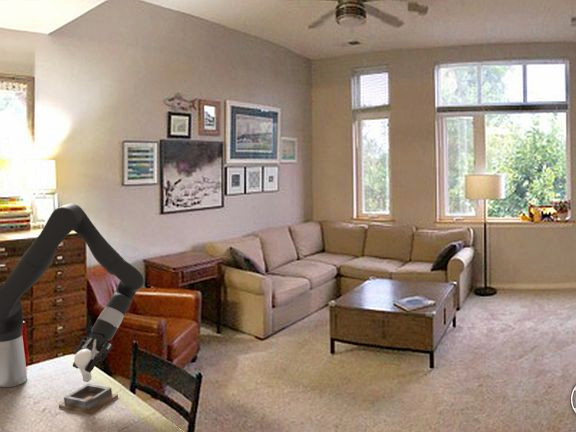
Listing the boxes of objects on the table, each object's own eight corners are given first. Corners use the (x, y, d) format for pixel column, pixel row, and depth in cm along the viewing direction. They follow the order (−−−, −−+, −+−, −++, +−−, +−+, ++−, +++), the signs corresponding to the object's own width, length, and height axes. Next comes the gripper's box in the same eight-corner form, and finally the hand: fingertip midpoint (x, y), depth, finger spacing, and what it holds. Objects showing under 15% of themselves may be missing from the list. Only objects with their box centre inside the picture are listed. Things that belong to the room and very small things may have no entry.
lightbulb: (90, 386, 165) (86, 353, 164) (73, 385, 166) (68, 353, 165) (101, 377, 171) (97, 346, 170) (84, 376, 172) (80, 345, 171)
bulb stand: (59, 407, 167) (57, 397, 167) (86, 391, 178) (85, 381, 177) (91, 414, 161) (90, 404, 161) (118, 397, 172) (117, 387, 172)
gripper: (87, 315, 176) (59, 360, 168) (114, 321, 168) (86, 369, 160) (102, 325, 181) (76, 369, 173) (128, 331, 173) (102, 378, 165)
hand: (81, 369), depth 167 cm, fingers closed on lightbulb, 6 cm apart
